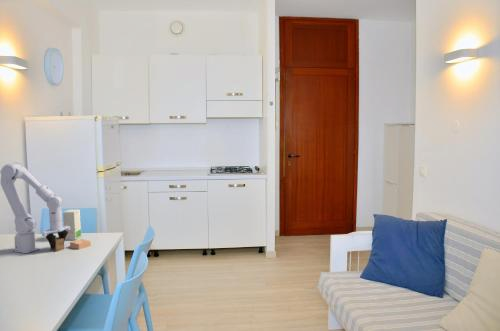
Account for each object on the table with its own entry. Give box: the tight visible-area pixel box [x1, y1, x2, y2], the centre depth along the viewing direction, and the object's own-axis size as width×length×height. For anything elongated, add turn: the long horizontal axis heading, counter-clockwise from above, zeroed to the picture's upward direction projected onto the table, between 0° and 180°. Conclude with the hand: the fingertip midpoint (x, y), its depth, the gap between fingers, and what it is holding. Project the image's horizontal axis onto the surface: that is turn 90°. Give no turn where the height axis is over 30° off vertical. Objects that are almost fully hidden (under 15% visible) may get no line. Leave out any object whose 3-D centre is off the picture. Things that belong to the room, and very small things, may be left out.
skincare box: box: [62, 209, 82, 241], centre depth 231 cm, size 8×7×16 cm
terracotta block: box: [69, 238, 92, 250], centre depth 216 cm, size 7×7×3 cm
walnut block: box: [49, 236, 65, 252], centre depth 211 cm, size 4×4×6 cm
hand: (57, 246), depth 211 cm, fingers closed on walnut block, 4 cm apart
